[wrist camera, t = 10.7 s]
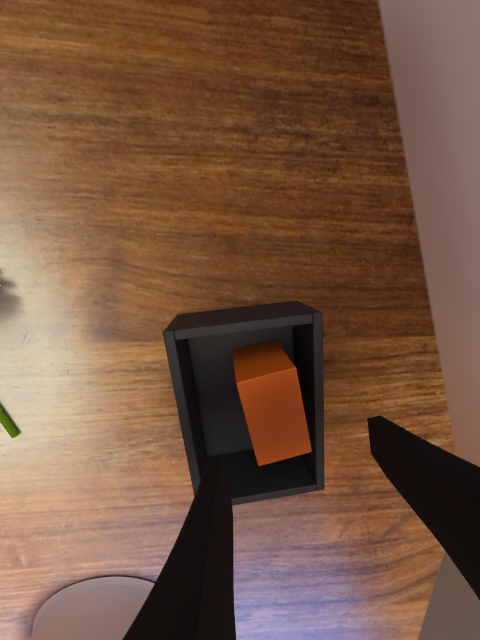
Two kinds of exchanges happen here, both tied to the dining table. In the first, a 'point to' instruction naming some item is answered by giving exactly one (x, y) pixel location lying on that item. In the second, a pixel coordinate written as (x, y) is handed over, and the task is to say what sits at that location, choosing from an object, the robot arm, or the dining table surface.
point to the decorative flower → (8, 423)
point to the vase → (92, 610)
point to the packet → (271, 402)
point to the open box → (224, 401)
